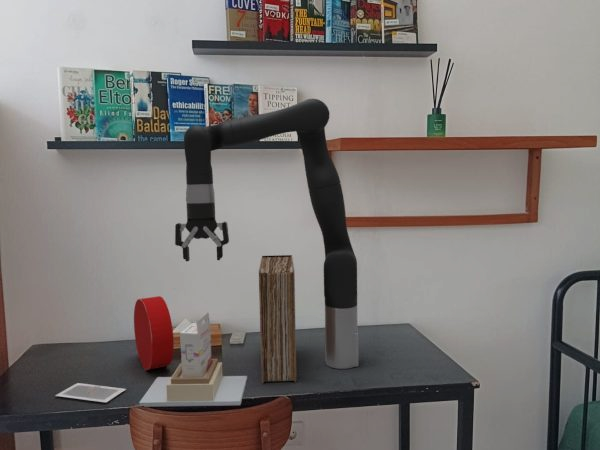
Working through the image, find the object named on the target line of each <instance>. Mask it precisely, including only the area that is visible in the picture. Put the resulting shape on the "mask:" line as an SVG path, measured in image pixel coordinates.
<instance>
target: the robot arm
mask: <svg viewBox="0 0 600 450" xmlns="http://www.w3.org/2000/svg"><path fill="white" fill-rule="evenodd" d="M330 114H331V113H330V110H329V107H328V106H327V104H326V103H325V102H324V101H322V100H320V99H317V98H308V99H305V100H303V101H301V102H298V103H296V104H294V105H293V104H292V105H291V106H288V107H284V108H281V109H278V110H274V111H270V112H264V113H260V114H254V115H248V116H243V117H238V118H233V119H232V118H231V119H228V120H223V121H222V122H220V123H218V124H212V125H207V126H201V125H191V126H190V127H189V128H187V129H186V131H185V132H184V135H183V145H184V146H183V148H184V155H185V163H186V167H185V174H186V175H185V177H186V178H185V179H186V180H185V181H186V190H185V203H186V223H181V222H177V223H176V224H175V226H174V227H175V232H174V234H175V235H174V236H175V237H174V239H175V240H174V245H175V246H177V247H178V246H179V247H181V249H182V258H183V260H185V262H189V261H190V247H189V245H190V243H191V242H192V241H193V239H196V240H199V239H205V240H206V239H207V240H208V239H211V241H212V242H214V244H215V245H216V260H217V261H221V259H222V258H223V257H224V256H223V255H224V254H223V253H224V250H223V249H224V248H223V246H225V245H228V243H229V242H230V238H229V235H230V234H229V226H228V222H227V221H223V222H217V220H216V203H215V202H216V200H215V189H214V179H213V178H214V175H213V166H212V152H213V151H217V150H219V149H223V148H230V147H237V146H241V145H245V144H250V143H251V144H252V143H254V142H257V141H261V140H263V139H267V138H271V137H274V136H276V135H281V134H286V133H295V132H296V135H297V138H298V140H299V141H298V142H299V145H300V147H301V148H300V149H301V151H302V156H303V161H304V162H303V163H304V170H305V176H306V184H307V188H308V193H309V198H310V203H311V206H312V209H313V213H314V216H315V218H316V220H317V223H318V226H319V227H320V231H321V235H322V240H323V245H324V257H325V259H324V262H323V297H324V329H325V330H324V341H325V342H324V345H325V346H324V347H325V351H324V353H325V355H324V359H325V365H326V366H328V367H329V368H331V369H332V368H333V369H341V370H347V369H352V368H354V367H359V332H358V260H357V256H356V255H355V252H354V248H353V245H352V243H351V240H350V236H349V233H348V227H347V219H346V217H347V216H346V205H345V198H344V193H343V189H342V183H341V179H340V177H339V173H338V171H337V168H336V166H335V163H334V162H333V159H332V157H331V155H330V153H329V152H330V151H329V149H328V144H327V138H326V130H325V129H326V126H327V124H328V122H329V121H330ZM217 228H219V230H220V231H222V238H223V239H222V240H221V238H219V236H218V234H217V233H216V232H215V231H216V230H217ZM185 229H186V230H187V231H188V236H186V238H185V240H184V241H183V239H182V237H183V236H182V235H183V233H182V232H184V231H185Z"/></svg>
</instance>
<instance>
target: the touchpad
mask: <svg viewBox="0 0 600 450" xmlns="http://www.w3.org/2000/svg"><path fill="white" fill-rule="evenodd" d="M126 390H127V388H122V387H114V386H112V387H111V386H107V385H99V384H98V385H96V384H91V383H90V384H89V383H81V382H80V383H79V382H77V383H75V384H73V385H71V386H70V387H67V388H66V389H64V390H62V391H60V392H59V393H57V394H55V395H54V396H55V397H61V398H62V397H63V398H69V399H77V400H84V401H91V402H92V401H93V402H99V403H108V402H109V401H111V400H113V399H114V398H116V397H118V395H120V394H122V392H124V391H126Z"/></svg>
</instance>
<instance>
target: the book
mask: <svg viewBox="0 0 600 450" xmlns="http://www.w3.org/2000/svg"><path fill="white" fill-rule="evenodd" d="M293 260H294V259H293V255H291V254H288V255H284V254H282V255H261V259H260V264H259V267H258V295H259V329H260V330H259V333H260V370H261V371H260V372H261V374H260V376H261V385H264V382H288V381H292V382H293V381H294V383H297V345H296V343H297V341H296V340H297V339H296V337H297V336H296V288H295V285H296V283H295V282H296V281H295V280H296V279H295V277H296V276H295V266H294V261H293Z"/></svg>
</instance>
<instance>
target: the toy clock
mask: <svg viewBox="0 0 600 450" xmlns="http://www.w3.org/2000/svg"><path fill="white" fill-rule="evenodd" d="M133 309H134V310H133V328H134V329H133V331H134V332H133V333H134V338H135V344H136V351H137V355H138V358H139V360H140V363H141V365H142V368H143V369H144V370H145V371H149V370H155V369H159V368H164V367H168V366H170V365H171V363H172V362H173V357H174V348H175V347H174V330H173V323H172V317H171V315H170V311H169V310H170V309H169V307H168V304H167V303H166V301H165V299H164V298H163V297H162V296H161V295H158V296H151V297H144V298H138V299H136V301H135V304H134V308H133Z"/></svg>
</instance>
